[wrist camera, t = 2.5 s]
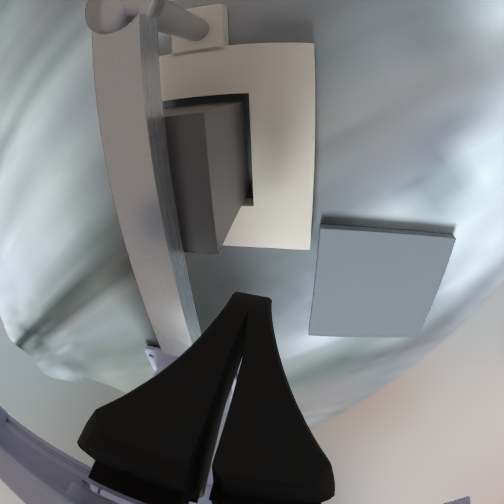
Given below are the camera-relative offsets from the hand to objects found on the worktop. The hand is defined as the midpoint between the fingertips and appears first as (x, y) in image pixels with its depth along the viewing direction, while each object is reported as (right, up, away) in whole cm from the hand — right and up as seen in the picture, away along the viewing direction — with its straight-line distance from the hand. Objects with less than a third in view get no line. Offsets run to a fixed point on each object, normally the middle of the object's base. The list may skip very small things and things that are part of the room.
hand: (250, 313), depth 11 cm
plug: (-2, +7, +3) cm, 8 cm away
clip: (-3, +4, -3) cm, 6 cm away
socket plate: (-2, +8, +2) cm, 9 cm away
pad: (+8, 0, +6) cm, 10 cm away
